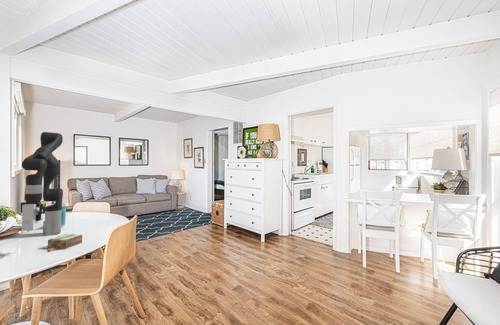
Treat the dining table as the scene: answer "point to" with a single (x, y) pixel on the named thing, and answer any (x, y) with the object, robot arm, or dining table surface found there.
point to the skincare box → (30, 217)
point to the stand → (65, 241)
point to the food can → (62, 214)
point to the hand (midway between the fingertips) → (32, 220)
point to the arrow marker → (52, 249)
